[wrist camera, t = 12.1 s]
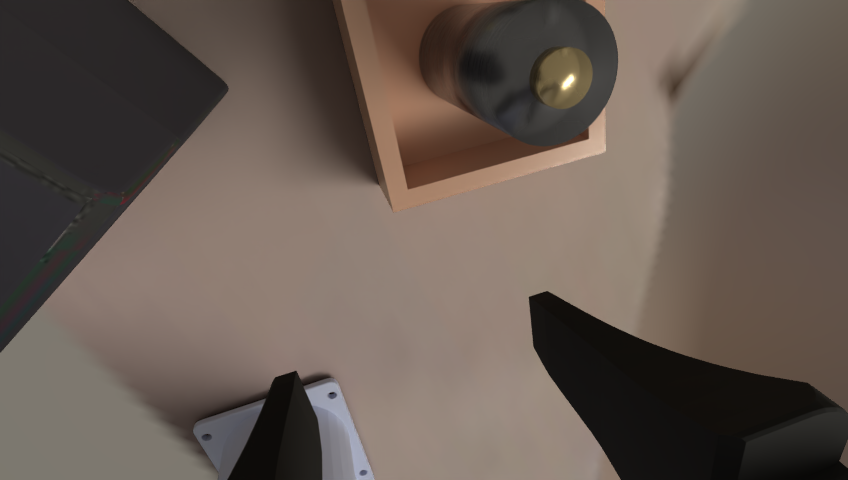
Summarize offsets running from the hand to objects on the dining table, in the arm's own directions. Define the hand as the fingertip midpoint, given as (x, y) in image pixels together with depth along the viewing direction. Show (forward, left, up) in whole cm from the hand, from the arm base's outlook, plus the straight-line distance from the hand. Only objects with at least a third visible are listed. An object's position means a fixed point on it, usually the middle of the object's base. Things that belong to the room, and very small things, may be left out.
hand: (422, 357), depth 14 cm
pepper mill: (+7, -6, -10) cm, 13 cm away
